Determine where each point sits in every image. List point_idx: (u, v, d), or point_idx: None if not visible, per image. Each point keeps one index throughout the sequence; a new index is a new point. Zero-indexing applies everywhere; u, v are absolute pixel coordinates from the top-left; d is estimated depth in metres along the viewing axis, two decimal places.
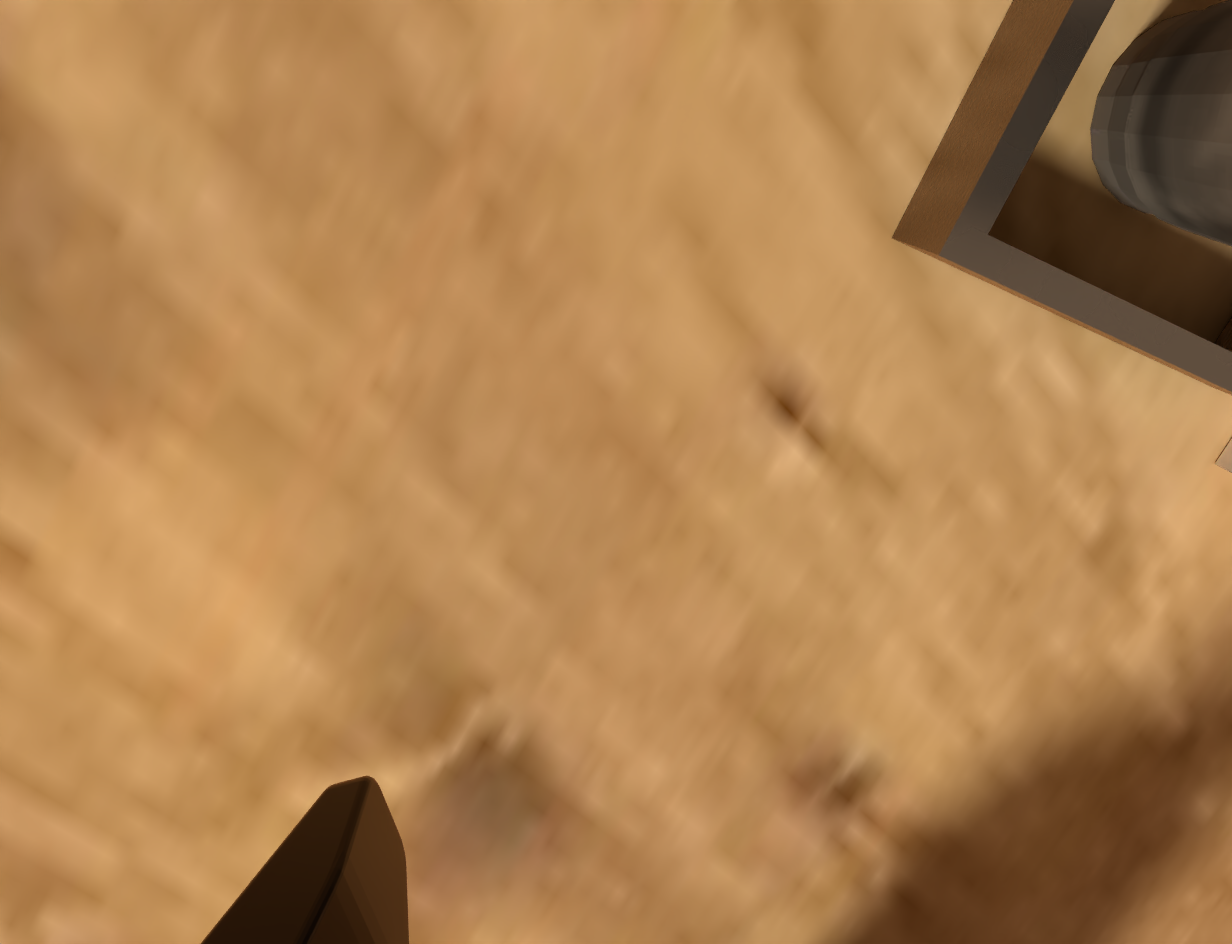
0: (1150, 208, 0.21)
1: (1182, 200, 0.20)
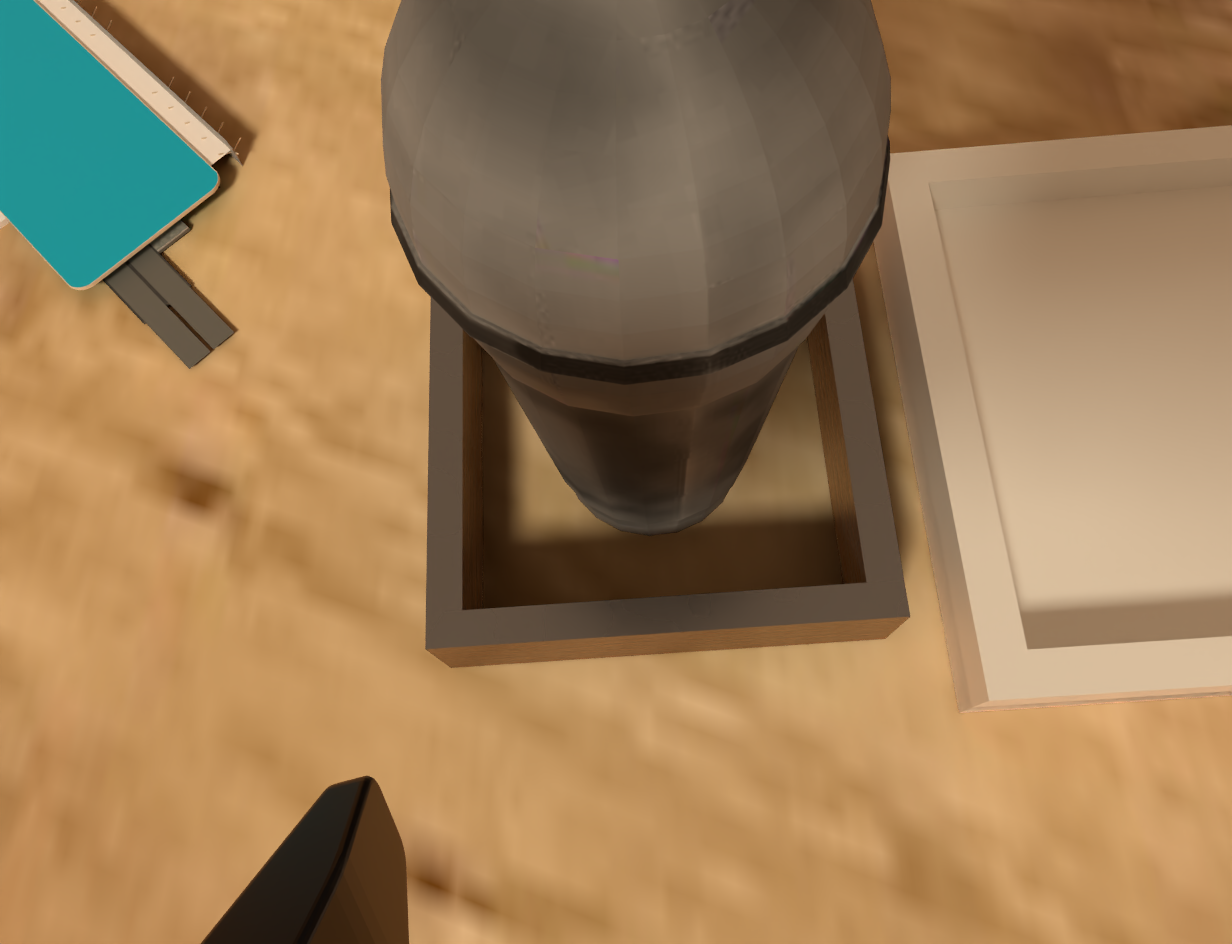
0: (629, 520, 0.22)
1: (596, 493, 0.20)
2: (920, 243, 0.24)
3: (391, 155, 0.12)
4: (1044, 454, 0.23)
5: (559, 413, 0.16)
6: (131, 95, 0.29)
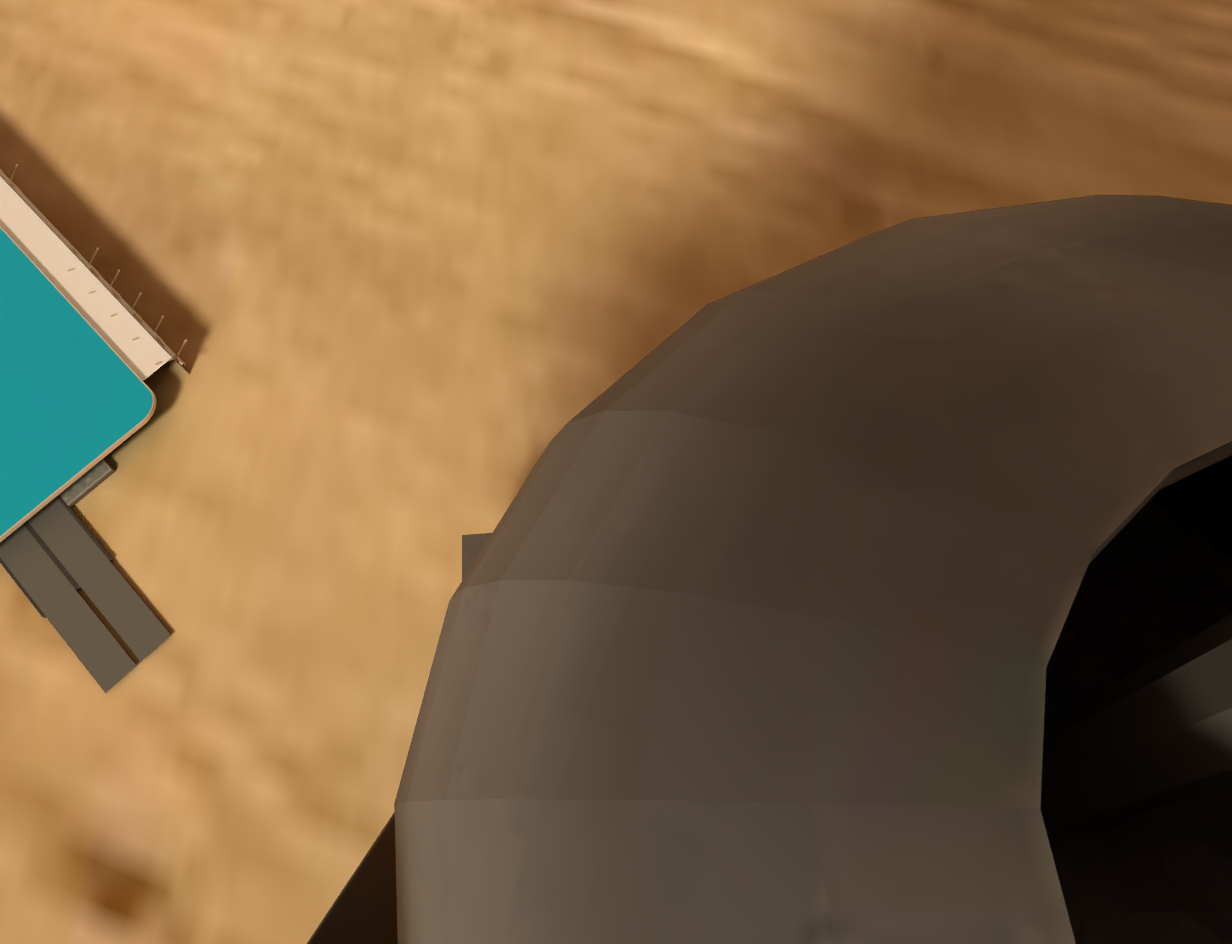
0: None
1: None
2: None
3: None
4: None
5: None
6: (39, 274, 0.21)
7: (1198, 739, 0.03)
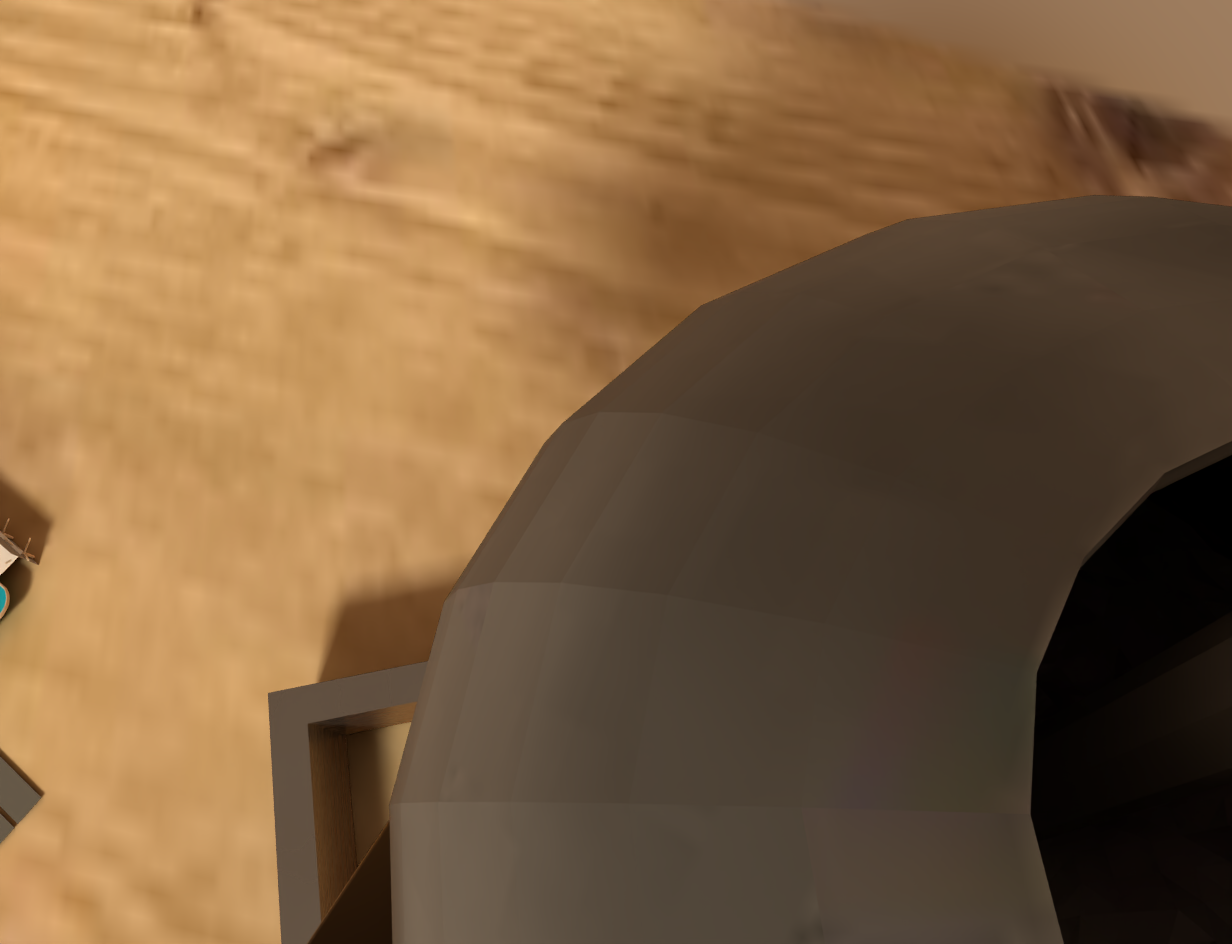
0: None
1: None
2: None
3: None
4: None
5: None
6: None
7: (1190, 740, 0.03)
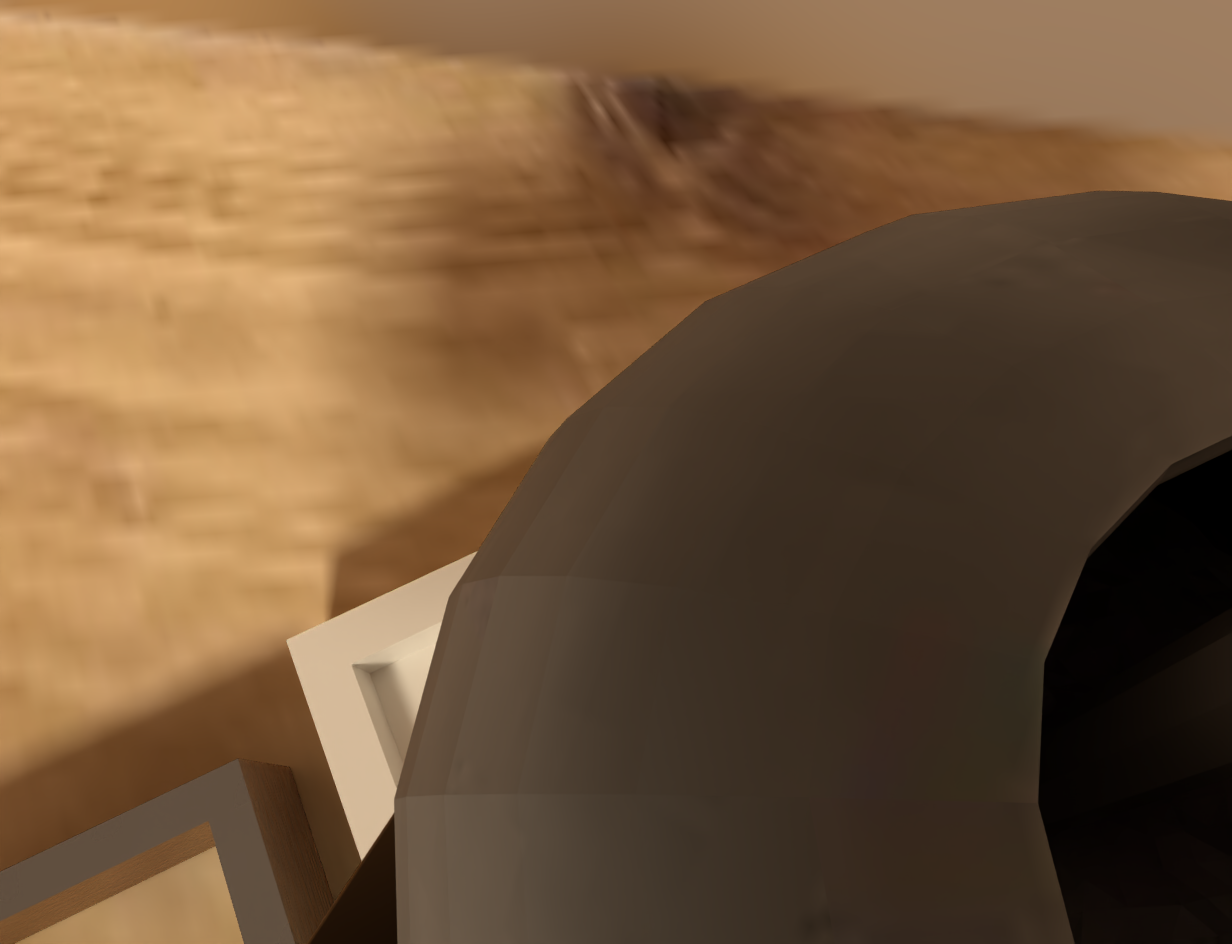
0: None
1: None
2: (357, 764, 0.17)
3: None
4: None
5: None
6: None
7: (1195, 734, 0.03)
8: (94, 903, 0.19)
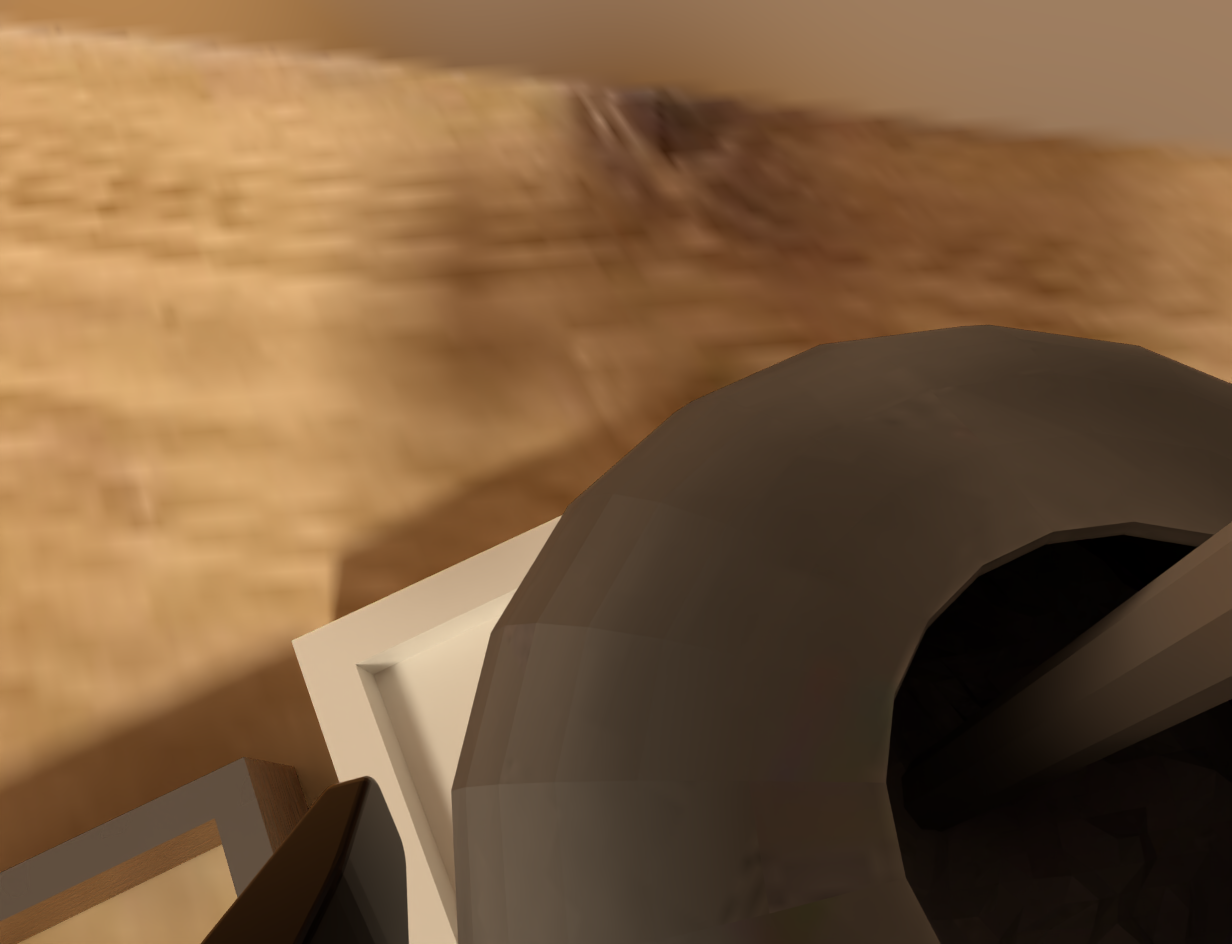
0: None
1: None
2: (361, 763, 0.18)
3: None
4: None
5: None
6: None
7: (1037, 739, 0.05)
8: (101, 901, 0.19)
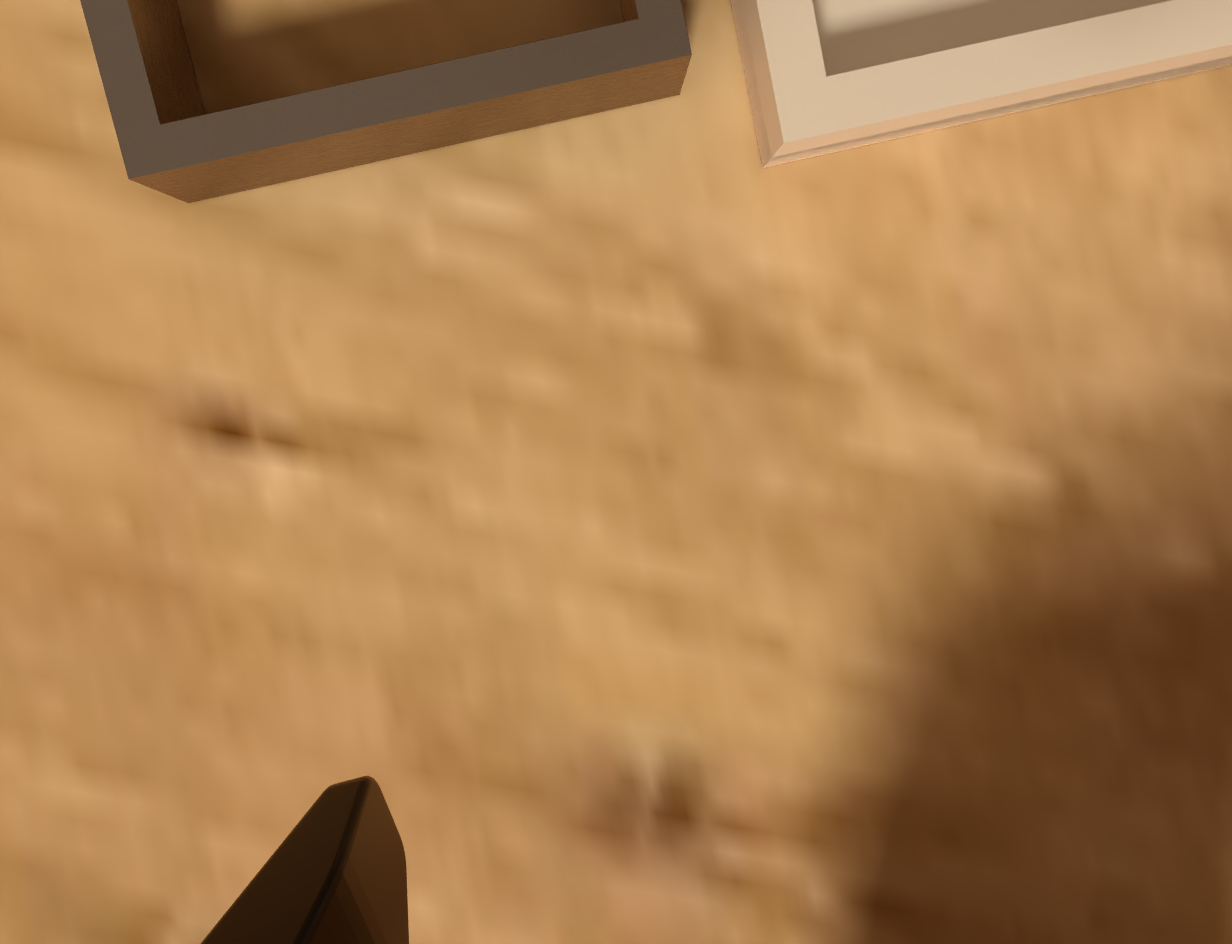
0: None
1: None
2: None
3: None
4: None
5: None
6: None
7: None
8: None
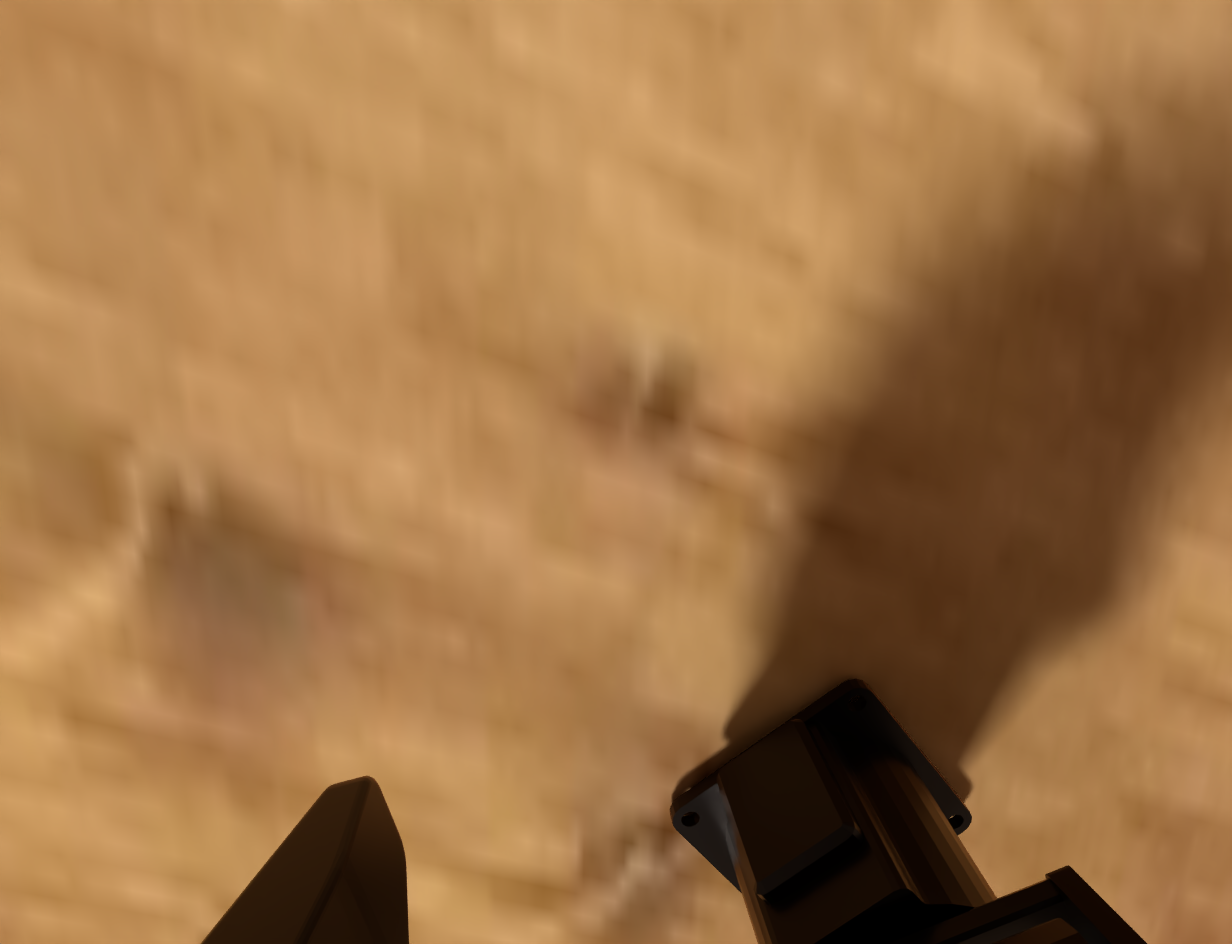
0: None
1: None
2: None
3: None
4: None
5: None
6: None
7: None
8: None
